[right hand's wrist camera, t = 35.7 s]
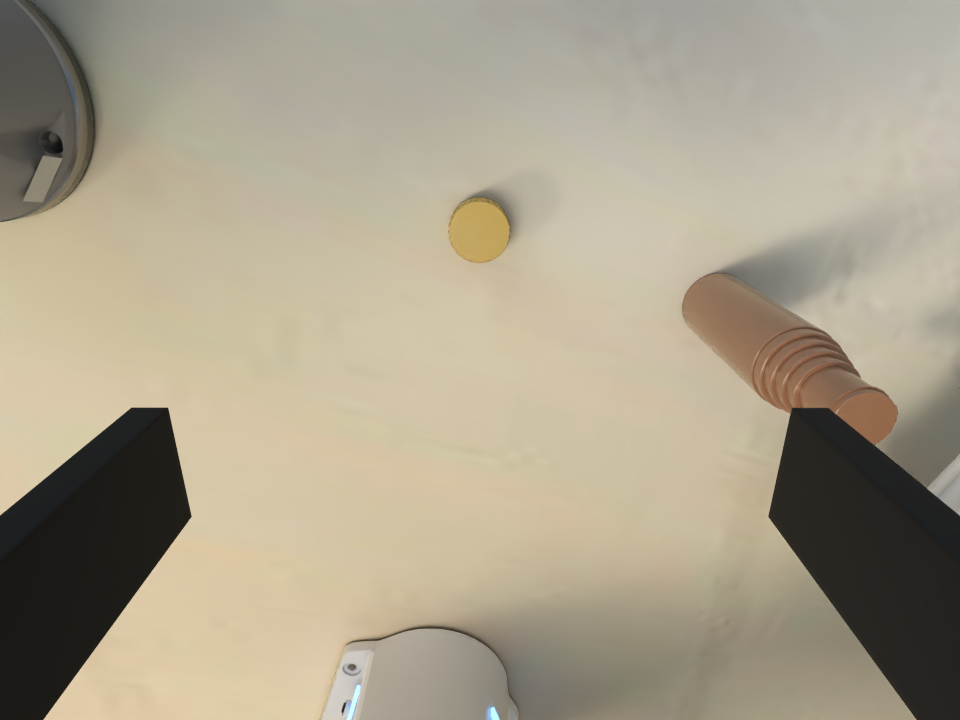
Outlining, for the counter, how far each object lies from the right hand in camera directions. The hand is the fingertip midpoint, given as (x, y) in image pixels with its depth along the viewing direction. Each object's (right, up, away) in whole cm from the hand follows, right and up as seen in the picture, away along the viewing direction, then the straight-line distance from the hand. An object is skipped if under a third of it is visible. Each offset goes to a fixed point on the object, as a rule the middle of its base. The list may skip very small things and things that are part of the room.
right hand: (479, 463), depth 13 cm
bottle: (+17, +6, +31) cm, 36 cm away
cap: (0, +11, +27) cm, 29 cm away
